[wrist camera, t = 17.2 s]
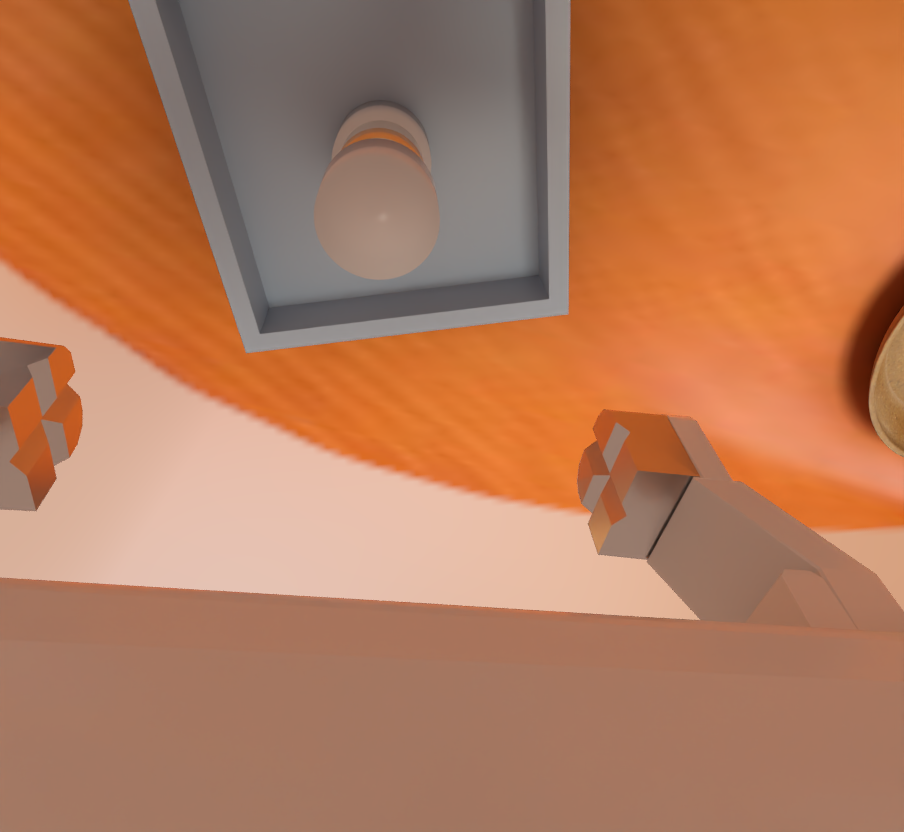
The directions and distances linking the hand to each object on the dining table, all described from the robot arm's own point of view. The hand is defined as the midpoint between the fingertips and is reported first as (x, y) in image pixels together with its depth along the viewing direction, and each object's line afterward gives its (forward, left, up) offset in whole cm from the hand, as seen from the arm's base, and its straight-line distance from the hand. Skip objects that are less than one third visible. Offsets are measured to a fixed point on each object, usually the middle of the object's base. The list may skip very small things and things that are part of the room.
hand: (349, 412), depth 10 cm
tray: (0, 0, -19) cm, 19 cm away
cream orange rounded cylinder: (0, 0, -18) cm, 18 cm away
